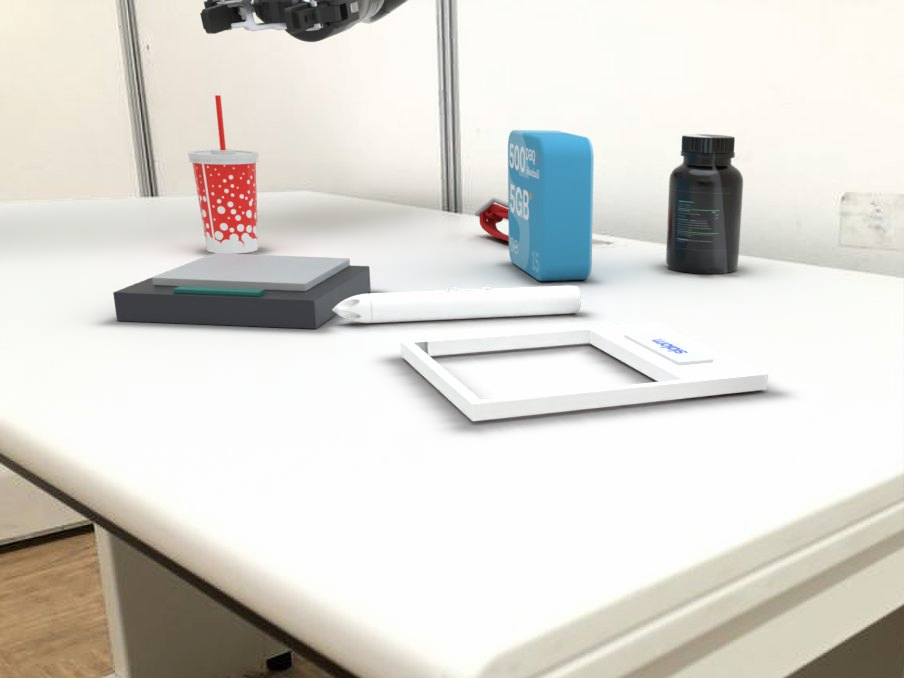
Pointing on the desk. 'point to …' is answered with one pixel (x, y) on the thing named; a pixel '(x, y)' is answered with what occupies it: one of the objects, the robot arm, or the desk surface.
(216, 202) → the beverage cup
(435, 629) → the desk surface
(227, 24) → the robot arm
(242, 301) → the scale
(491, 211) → the tracker holder
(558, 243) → the data package
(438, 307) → the marker
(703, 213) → the supplement bottle
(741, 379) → the photo frame
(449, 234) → the desk surface
